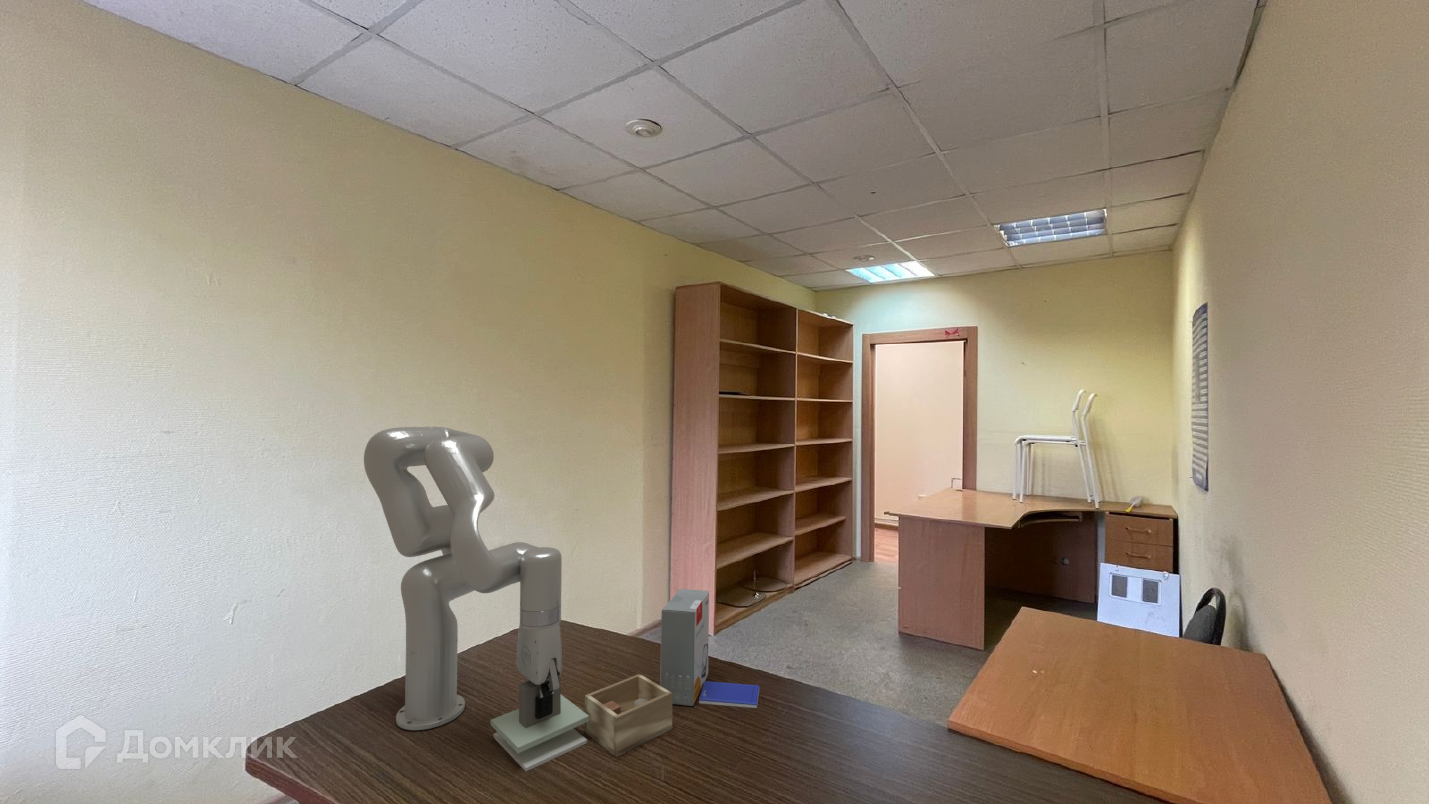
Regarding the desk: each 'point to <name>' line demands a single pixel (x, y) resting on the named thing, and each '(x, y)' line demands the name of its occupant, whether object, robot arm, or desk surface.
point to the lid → (530, 731)
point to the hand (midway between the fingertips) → (539, 711)
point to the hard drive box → (685, 645)
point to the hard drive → (729, 694)
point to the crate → (628, 714)
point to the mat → (544, 749)
